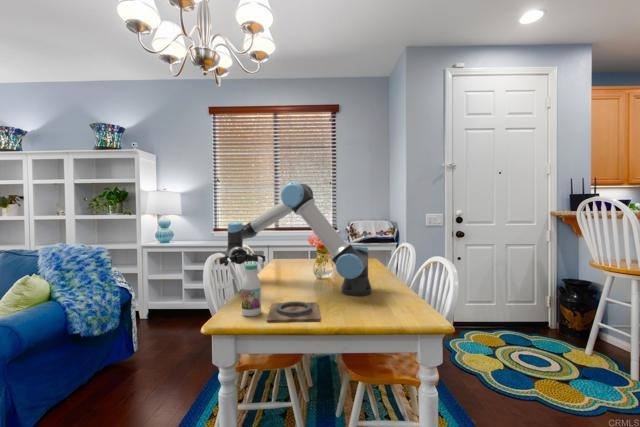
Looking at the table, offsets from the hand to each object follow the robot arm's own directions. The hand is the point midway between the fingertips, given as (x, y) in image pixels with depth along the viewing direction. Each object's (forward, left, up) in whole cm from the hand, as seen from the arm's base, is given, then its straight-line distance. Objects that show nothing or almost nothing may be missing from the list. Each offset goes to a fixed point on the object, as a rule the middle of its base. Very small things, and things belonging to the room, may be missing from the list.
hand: (246, 263), depth 136 cm
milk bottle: (-3, +9, -19) cm, 21 cm away
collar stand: (-21, +9, -19) cm, 30 cm away
